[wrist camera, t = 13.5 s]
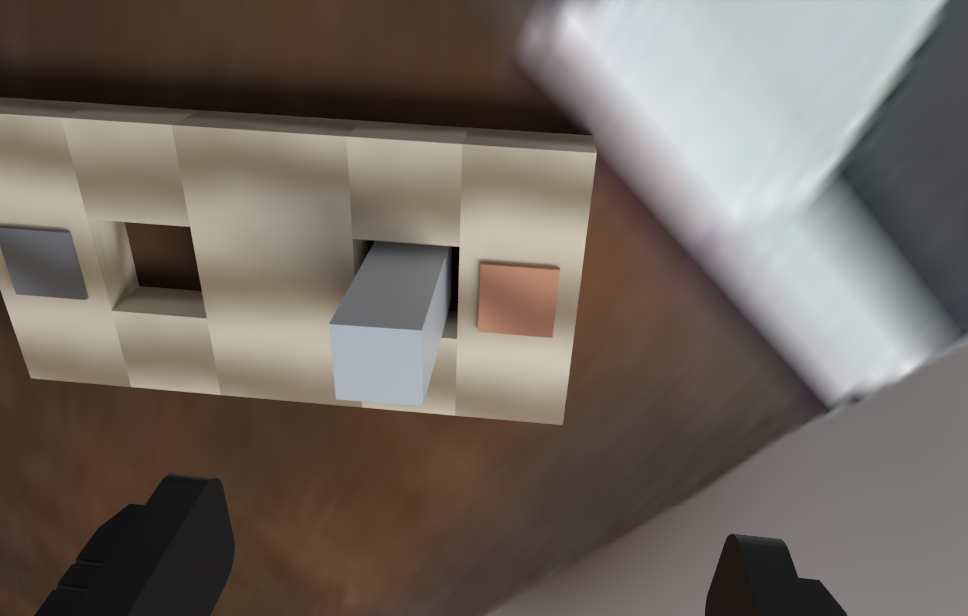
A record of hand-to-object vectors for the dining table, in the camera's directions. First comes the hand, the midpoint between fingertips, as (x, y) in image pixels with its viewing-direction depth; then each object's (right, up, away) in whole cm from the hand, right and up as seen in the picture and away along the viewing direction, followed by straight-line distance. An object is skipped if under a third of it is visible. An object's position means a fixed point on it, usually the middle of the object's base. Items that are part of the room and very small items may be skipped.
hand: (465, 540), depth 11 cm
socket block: (-10, +7, +28) cm, 31 cm away
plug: (-3, +6, +28) cm, 29 cm away
